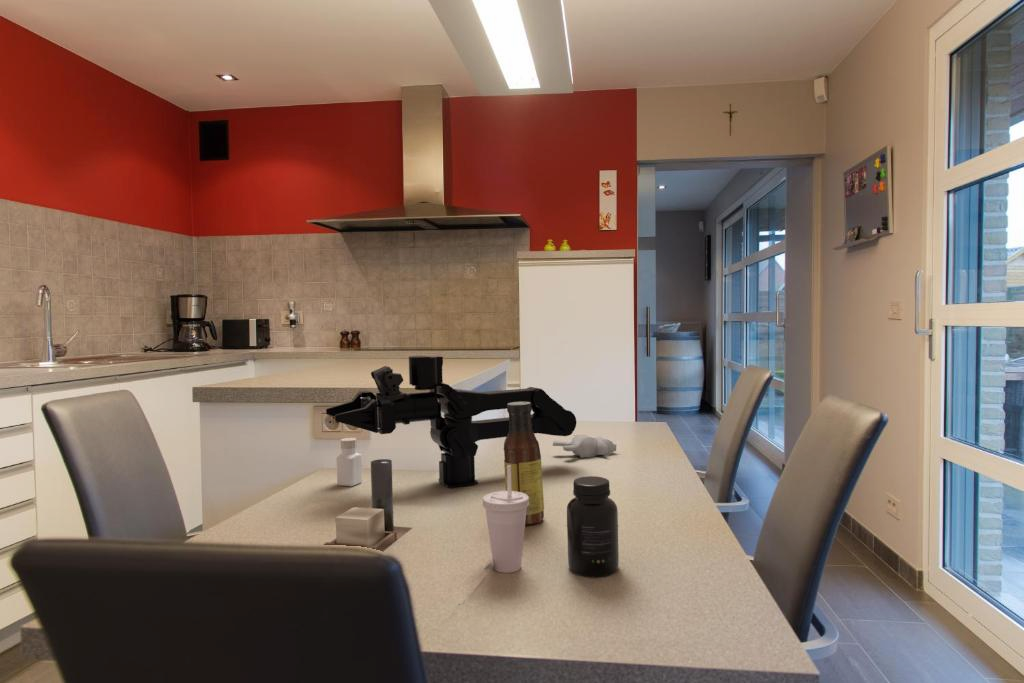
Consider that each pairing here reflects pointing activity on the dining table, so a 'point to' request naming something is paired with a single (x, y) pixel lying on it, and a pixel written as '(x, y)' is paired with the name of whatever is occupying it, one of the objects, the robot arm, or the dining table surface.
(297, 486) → the dining table surface
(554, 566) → the dining table surface
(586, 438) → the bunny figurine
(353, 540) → the birch block
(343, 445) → the white plastic bottle
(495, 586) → the dining table surface
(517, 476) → the sauce bottle
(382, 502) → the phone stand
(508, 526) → the smoothie
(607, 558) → the supplement bottle
